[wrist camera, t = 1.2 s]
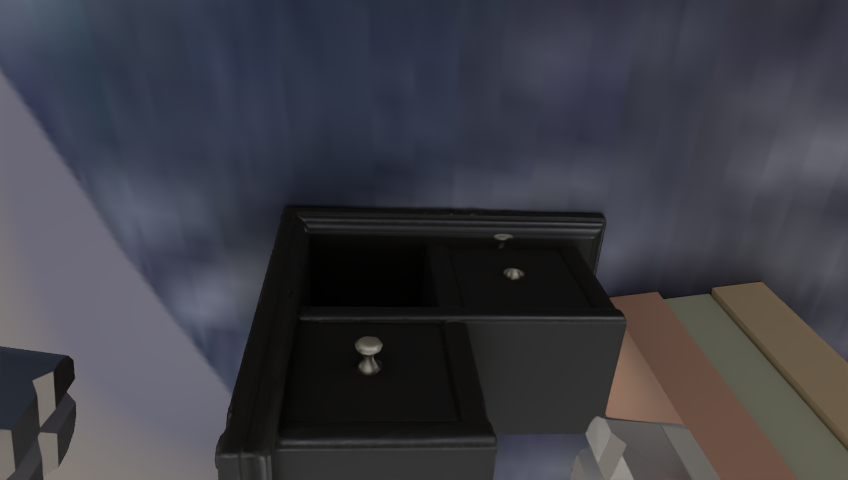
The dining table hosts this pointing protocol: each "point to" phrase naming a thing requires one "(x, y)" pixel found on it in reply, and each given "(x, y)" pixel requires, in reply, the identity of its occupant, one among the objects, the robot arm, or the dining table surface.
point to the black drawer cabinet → (419, 344)
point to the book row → (736, 382)
